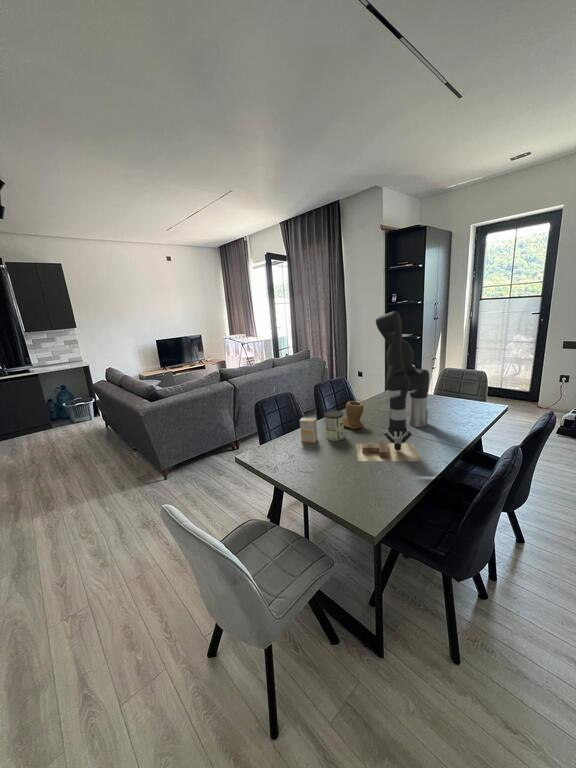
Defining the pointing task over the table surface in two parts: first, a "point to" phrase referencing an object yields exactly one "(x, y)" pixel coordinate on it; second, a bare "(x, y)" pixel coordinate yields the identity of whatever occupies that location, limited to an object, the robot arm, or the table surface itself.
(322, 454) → the table surface
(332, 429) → the coffee can
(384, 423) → the table surface
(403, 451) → the board
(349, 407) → the terracotta vase
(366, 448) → the t block
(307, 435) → the supplement box
